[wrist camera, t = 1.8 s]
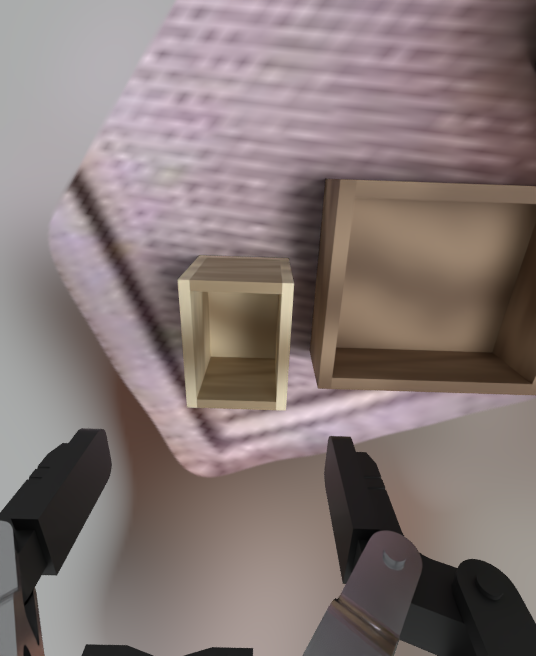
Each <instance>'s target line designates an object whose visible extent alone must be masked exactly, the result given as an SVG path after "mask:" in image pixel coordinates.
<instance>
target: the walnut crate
mask: <svg viewBox="0 0 536 656" xmlns="http://www.w3.org/2000/svg"><path fill="white" fill-rule="evenodd" d="M310 355H311V360H312V364H313V368H314V373H315V377H316V382H317V386H318V388H320V389H352V390H384V391H415V392H447V393H479V394H510V395H536V186H516V185H488V184H460V183H432V182H404V181H376V180H348V179H325V189H324V200H323V211H322V222H321V233H320V244H319V255H318V266H317V277H316V287H315V298H314V309H313V320H312V331H311V342H310Z"/></svg>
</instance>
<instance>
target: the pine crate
mask: <svg viewBox="0 0 536 656" xmlns="http://www.w3.org/2000/svg"><path fill="white" fill-rule="evenodd" d="M178 291H179V305H180V318H181V331H182V345H183V358H184V371H185V385H186V398H187V407H191V408H223V409H256V410H286V399H287V384H288V369H289V353H290V338H291V323H292V307H293V292H294V281H293V276H292V272H291V267H290V263H289V258H266V257H236V256H207V255H199V256H198V258H197V259H196V260H195V261H194V262H193V263H192V264H191V265H190V266H189V268H188V269H187V270H186V271H185V272H184V273H183V274H182V275H181V276H180V278H179V279H178Z"/></svg>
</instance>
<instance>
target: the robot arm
mask: <svg viewBox="0 0 536 656" xmlns="http://www.w3.org/2000/svg"><path fill="white" fill-rule="evenodd" d="M111 466H112V463H111V457H110V451H109V447H108V441H107V436H106V432H105V430H104V429H83V428H82V429H80V430H78V432H77V433H76V434H75V435H74V437H73V438H72V439H71V441H70V442H69V443H62V444H61V445H59V446H58V447H57V448H55V449H54V450H53V451H51V452H50V453H48V454H47V456H46V457H45V458H44V459H43V461H42V462H41V463H40V464H39V466H38V468H37V469H35V470H34V472H33V473H32V474H31V475H30V477H29V480H26V482H25V483H24V484H23V485H22V487H21V488H20V489H19V490H18V491H17V493H16V494H15V495H14V496H13V498H12V499H11V500H10V501H9V503H8V504H7V505H6V506H5V507H4V509H3V510H2V511H1V512H0V656H45V655H44V648H43V640H42V632H41V625H40V617H39V609H38V601H37V593H36V589H35V586H36V584H37V582H38V581H39V579H40V577H41V575H57V574H58V572H59V571H60V569H61V567H62V565H63V563H64V561H65V559H66V558H67V556H68V554H69V552H70V550H71V548H72V546H73V544H74V543H75V541H76V539H77V537H78V535H79V533H80V531H81V530H82V528H83V526H84V524H85V522H86V520H87V518H88V517H89V515H90V513H91V511H92V509H93V507H94V505H95V504H96V502H97V500H98V498H99V496H100V494H101V492H102V491H103V489H104V487H105V485H106V483H107V481H108V479H109V476H110V473H111ZM324 475H325V476H324V477H325V488H326V493H327V499H328V505H329V510H330V515H331V521H332V527H333V531H334V537H335V543H336V549H337V554H338V559H339V565H340V571H341V576H342V581H343V584H346V585H345V587H344V589H343V591H342V593H341V595H340V596H339V598H338V599H336V598H335V599H334V600H333V601H332V602H331V604H330V606H329V607H328V609H327V611H326V613H325V615H324V617H323V618H322V620H321V622H320V624H319V626H318V628H317V629H316V631H315V633H314V635H313V637H312V639H311V641H310V643H309V645H308V646H307V648H306V650H305V652H304V654H303V656H394V654H395V651H396V648H397V645H398V642H399V640H402V641H404V642H407V643H409V644H412V645H414V646H416V647H419V648H421V649H423V650H426V651H428V652H431V653H433V654H435V655H437V656H536V623H535V622H534V620H533V618H532V616H531V614H530V612H529V611H528V609H527V607H526V605H525V603H524V601H523V600H522V598H521V596H520V594H519V592H518V591H517V589H516V588H515V586H514V584H513V583H512V582H511V581H510V579H509V578H508V577H507V576H506V575H505V574H504V573H503V572H501V571H500V570H499V569H497V568H496V567H494V566H493V565H491V564H489V563H487V562H485V561H481V560H477V559H468V560H465V561H463V562H462V563H460V565H459V566H458V568H455V567H452V566H450V565H446V564H444V563H441V562H438V561H435V560H432V559H430V558H428V557H426V556H424V555H422V554H421V553H419V552H418V550H417V548H416V547H415V546H414V545H413V544H412V542H411V541H409V540H408V539H407V538H405V537H404V535H403V533H402V531H401V528H400V526H399V523H398V521H397V518H396V515H395V512H394V510H393V507H392V504H391V502H390V499H389V496H388V494H387V491H386V490H385V486H384V483H383V480H382V479H381V475H380V473H379V470H378V467H377V465H376V463H375V462H374V461H373V460H372V458H371V457H370V456H369V455H368V454H367V453H366V452H356V451H355V448H354V445H353V442H352V439H351V437H342V436H329V439H328V446H327V454H326V462H325V472H324ZM82 656H153V655H150V654H148V653H145V652H143V651H140V650H138V649H135V648H133V647H130V646H127V645H88V644H87V645H86V646H85V649H84V651H83V654H82ZM185 656H253V648H219V647H218V648H217V647H212V648H208V649H205V650H201V651H198V652H195V653H192V654H188V655H185Z"/></svg>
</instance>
